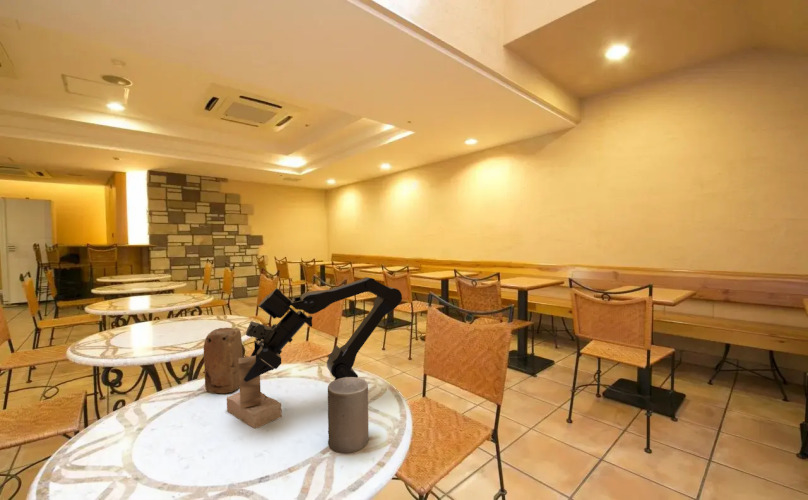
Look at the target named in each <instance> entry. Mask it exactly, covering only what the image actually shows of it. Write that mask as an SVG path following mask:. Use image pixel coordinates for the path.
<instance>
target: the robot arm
mask: <svg viewBox="0 0 808 500" xmlns="http://www.w3.org/2000/svg"><path fill="white" fill-rule="evenodd" d="M366 292H370V293H371V294H373V295H375V296H376V297H375V299H374V302H373V306H372V308H371V309H370V311H369V312H368V313H367V315H366V316H365V318H363V320H362V321H361V322H360V324H359V325H358V327H357V328H356V330H355V331H354V332H353V333H352V334H351V336H350V337H349V339H347V341H346V343H345V344H343V345H342V346H338V345H335V346H334V347H333V349H332V351H331V353H329V354H328V355H327V357H328V359H327V360H326V367H327V369H328V371H329V372H330V374H331V375H332V376H333V378H334V380H337V379H340V378H345V377H357V378H359V375H358V374H357V372H356V371H355V370H354V369H353V366H354V364H355V361H356V359H357V354H358V353H359V352H360V350H361V349H362V347H363V345H364V344H365V343H366V342H367V340H368V339H369V338H370V336H371V335H372V333H374V331H375V330H376V328H377V327H378V326H379V324H380V323H381V321H382V320H383V318H384V317H385V316H386V315H388V314H390V313H391V312H393V311H394V310H395V309H396V308H397V307H398V306H399V305H400V304H401V303H402V300H403V294H402V292H401V291H400V290H399V288H396V287H392V286H388V285H384V284H383V283H381V282H379V281H378V280H375V278H373V277H369V276H366V277H363V278H362V279H359V280H355V281H352V282H349V283H346V284H342V285H338V286H335V287H333V288H330V289H321V290H320V289H319V290H311V291H306V292H304V293H302V294H301V296H298V297H292V298H289V297H287V296H286V295H285V294H284V293H283V292H282V291H281V290H280V289H279V288H277V287H276V288H275V289H274V290H272V291H271V292H270V293H269V294H266V295H265V297H264V298H263V299H262V300H261V301H260V303H258V307H259V308H260V309H261V310H262V311H263V312H265V313H266V314H268V315H269V316H270V317H272V319H274V320H275V319H281V318H282V319H281V320H279V322H277V323H274V324H272V325H271V326H267V325H265V324H262V323H259V322H256V321H250V322H249V325H248V326H247V329H246V331H245V335H246V336H247V337H250V338H255V340H254V344H253V345H254V346H253V347H254V349H253V351H252V352H251V354H250V356H256V361H255V363H254V364H253V366H252V367H251V368H250V370H249V371H248V373H247V374H246V376H245V377H244V381H246V382H248V381H250V380H252V379H254V378H256V377H257V376H259V375H260V376H261V375H263V374H265V373H268V372H271V371H273V370H277V369H278V368H279V367H280V365H282V356H281V354H282V352H283V351H282V350H283V349H284V348H285V346H286V345H287V344H288V343H291V342H292V341H293V338H294V336H295V335H296V334H297V333H298V332H299V331H300V329H301V328H302V327H303V326H304V325H305V324H306V325H308V326H309V327H313V316H312V315H314V314H316V313H319V312H320V311H322V310H325V309H326V308H328V307H330V306H331V305H332V304H333V303H337V302H340V301H342V300H346V299H348V298H352V297H354V296H357V295H361V294H364V293H366ZM292 307H293V308H294V309H295V310H294V309H293V308H292ZM296 310H297V311H296ZM303 311H304V312H305V313H306V314H305V313H304V312H303ZM307 314H308V315H307Z"/></svg>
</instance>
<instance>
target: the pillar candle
mask: <svg viewBox="0 0 808 500" xmlns="http://www.w3.org/2000/svg"><path fill="white" fill-rule="evenodd" d="M327 423H328V426H327V427H328V430H327V434H328V439H327V445H328V447H329V449H331V450H332V451H334V452H336V453H338V454H339V453H340V454H351V453H355V452H358V451H360V450H362V449H364V448H365V447H366V446H367V444H368V443H369V442H368V441H369V383H368V382H367V380H366V379H365V378H361V377H358V378H357V377H345V378H340V379H337V380H335V379H334V380H332V381H331V382H330V383H329V384H328V385H327Z"/></svg>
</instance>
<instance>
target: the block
mask: <svg viewBox="0 0 808 500" xmlns="http://www.w3.org/2000/svg"><path fill="white" fill-rule="evenodd" d="M203 343H204V344H203V366H204V370H205V371H204V387H205V390H206V391H207V392H211V393H217V394H228V393H232V392H234V391H237V390H238V389H240V379H239V358H243V341H242V333H241V329H240V328H236V327H235V328H232V327H218V328H216V329H213V330H212V331H210V332H209V333H208V334H207V336H206V337H205V340H204V342H203Z"/></svg>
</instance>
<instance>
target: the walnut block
mask: <svg viewBox="0 0 808 500" xmlns="http://www.w3.org/2000/svg"><path fill="white" fill-rule="evenodd" d="M255 361H256V356H251V355H250V356H245V357H242V358H239V379H240V386H239V392H240V406H241V408H246V407H250V406H255V405H259V404H261V392H262V391H261V375H259V376H257V377H256V378H254V379H252V380H250V381H248V382H246V381H244V377H245V376H246V374H247V373H248V371H249V370H250V368H251V367H252V366H253V364H254V363H255Z"/></svg>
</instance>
